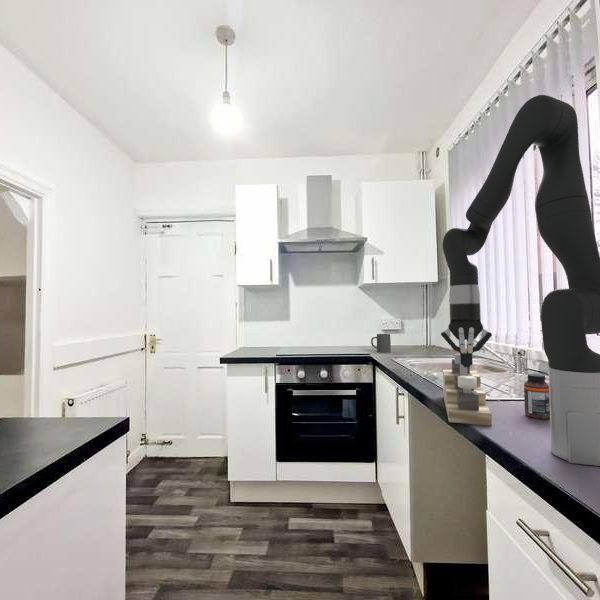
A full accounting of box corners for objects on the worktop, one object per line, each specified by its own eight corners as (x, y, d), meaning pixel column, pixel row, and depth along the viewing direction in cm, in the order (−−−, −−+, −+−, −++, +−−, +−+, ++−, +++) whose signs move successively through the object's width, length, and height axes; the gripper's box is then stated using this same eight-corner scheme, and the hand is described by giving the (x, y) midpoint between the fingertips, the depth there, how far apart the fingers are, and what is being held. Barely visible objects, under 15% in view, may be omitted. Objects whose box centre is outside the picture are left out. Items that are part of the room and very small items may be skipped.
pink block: (469, 370, 112) (468, 348, 112) (453, 369, 114) (452, 348, 114) (467, 367, 116) (467, 346, 117) (452, 367, 118) (451, 346, 118)
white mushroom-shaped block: (478, 405, 94) (477, 379, 95) (459, 403, 96) (458, 378, 96) (475, 400, 99) (475, 376, 99) (457, 399, 100) (456, 375, 100)
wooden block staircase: (491, 425, 91) (490, 373, 92) (448, 422, 95) (447, 371, 95) (476, 399, 118) (475, 358, 118) (443, 396, 121) (442, 357, 121)
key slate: (473, 379, 103) (472, 355, 103) (455, 378, 105) (455, 355, 105) (471, 376, 107) (470, 353, 108) (454, 375, 109) (454, 353, 109)
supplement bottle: (526, 412, 103) (525, 371, 103) (551, 415, 99) (550, 374, 99) (523, 417, 98) (521, 374, 98) (549, 421, 94) (548, 377, 95)
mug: (387, 351, 252) (386, 333, 253) (393, 352, 243) (392, 334, 244) (368, 351, 250) (368, 334, 250) (374, 353, 241) (373, 335, 241)
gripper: (438, 302, 97) (440, 368, 96) (494, 301, 92) (496, 370, 92) (437, 303, 104) (439, 364, 103) (489, 302, 100) (491, 366, 99)
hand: (466, 367), depth 97 cm, fingers closed
